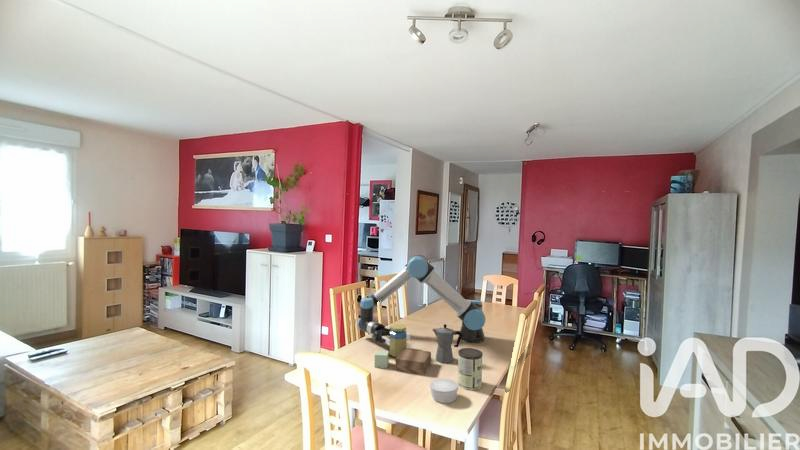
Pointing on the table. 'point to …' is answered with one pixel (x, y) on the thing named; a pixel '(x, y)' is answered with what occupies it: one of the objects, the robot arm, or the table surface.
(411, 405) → the table surface
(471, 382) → the coffee can
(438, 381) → the ramekin
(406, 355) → the walnut block
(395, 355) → the jar
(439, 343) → the coffeepot
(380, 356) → the sage cube
